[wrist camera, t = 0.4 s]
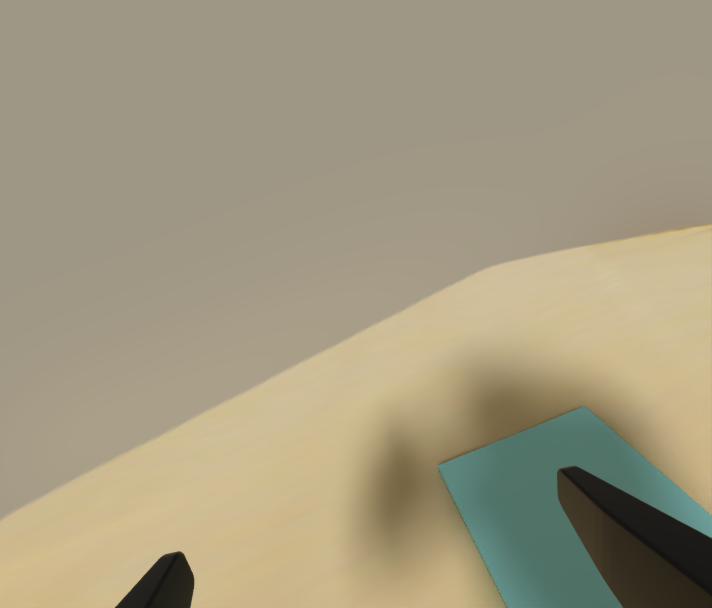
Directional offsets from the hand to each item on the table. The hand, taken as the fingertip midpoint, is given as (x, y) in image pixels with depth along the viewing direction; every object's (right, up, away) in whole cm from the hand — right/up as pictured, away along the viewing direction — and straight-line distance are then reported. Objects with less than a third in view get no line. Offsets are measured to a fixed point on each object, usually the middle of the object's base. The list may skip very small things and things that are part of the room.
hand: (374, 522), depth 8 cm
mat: (+13, -8, +13) cm, 20 cm away
